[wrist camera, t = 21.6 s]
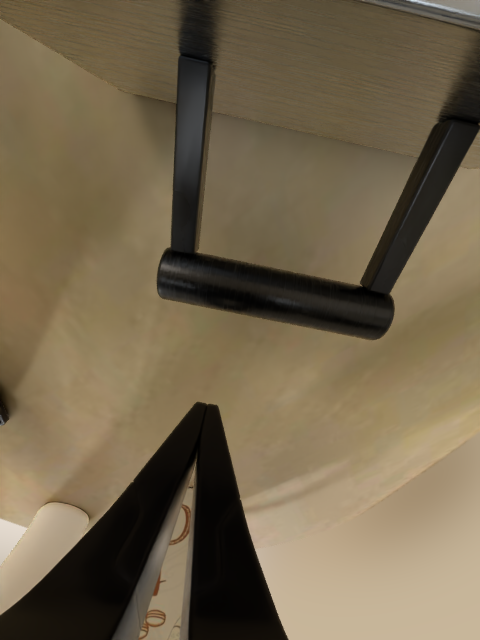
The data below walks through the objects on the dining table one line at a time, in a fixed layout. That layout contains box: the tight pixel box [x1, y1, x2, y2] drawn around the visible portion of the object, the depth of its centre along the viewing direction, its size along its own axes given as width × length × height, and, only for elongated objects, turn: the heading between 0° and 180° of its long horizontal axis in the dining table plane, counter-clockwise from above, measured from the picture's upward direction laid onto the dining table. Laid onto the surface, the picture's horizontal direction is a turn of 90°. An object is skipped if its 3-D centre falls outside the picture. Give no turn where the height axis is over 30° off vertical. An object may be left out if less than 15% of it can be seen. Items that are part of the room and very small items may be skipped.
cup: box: [0, 502, 89, 615], centre depth 24 cm, size 9×9×10 cm
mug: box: [138, 488, 193, 640], centre depth 22 cm, size 8×13×10 cm, turn 8°
